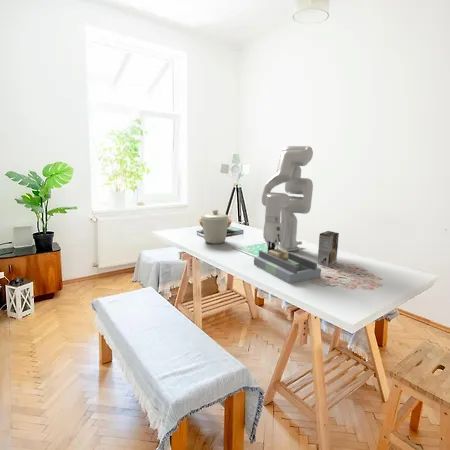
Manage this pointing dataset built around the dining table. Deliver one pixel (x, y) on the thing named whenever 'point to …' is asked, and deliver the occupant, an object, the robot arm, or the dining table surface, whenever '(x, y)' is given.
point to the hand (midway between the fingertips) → (271, 254)
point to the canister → (215, 227)
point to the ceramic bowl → (228, 222)
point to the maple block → (279, 254)
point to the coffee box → (328, 248)
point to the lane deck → (288, 267)
